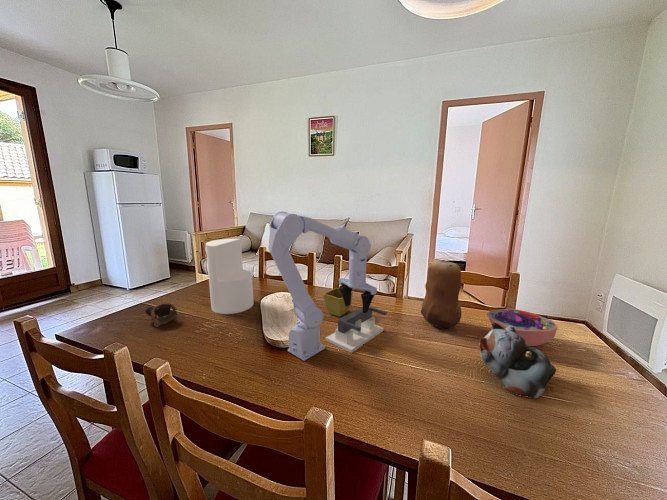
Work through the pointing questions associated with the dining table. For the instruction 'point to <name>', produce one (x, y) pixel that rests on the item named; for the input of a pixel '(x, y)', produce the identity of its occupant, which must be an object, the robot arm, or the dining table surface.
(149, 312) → the pottery mug
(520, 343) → the lucky cat figurine
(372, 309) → the grey c-shaped bracket
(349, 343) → the stand
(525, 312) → the cell model
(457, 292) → the butternut squash
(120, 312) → the dining table surface
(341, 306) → the flower pot
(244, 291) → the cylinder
